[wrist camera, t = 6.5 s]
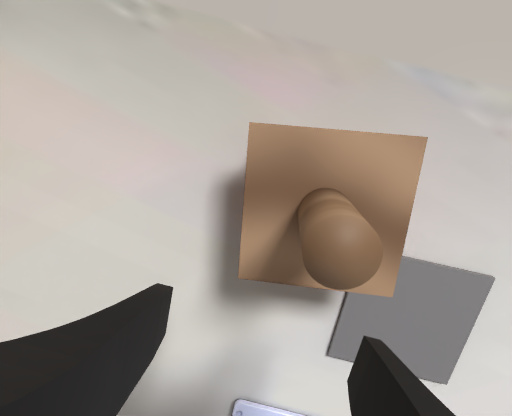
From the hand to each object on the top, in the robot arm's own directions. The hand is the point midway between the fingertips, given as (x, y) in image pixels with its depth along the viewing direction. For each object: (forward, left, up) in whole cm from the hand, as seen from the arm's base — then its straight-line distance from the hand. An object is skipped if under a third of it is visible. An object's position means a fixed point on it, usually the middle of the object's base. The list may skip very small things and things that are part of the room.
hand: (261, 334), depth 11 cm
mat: (-3, -10, -10) cm, 14 cm away
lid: (+4, -2, -6) cm, 7 cm away
